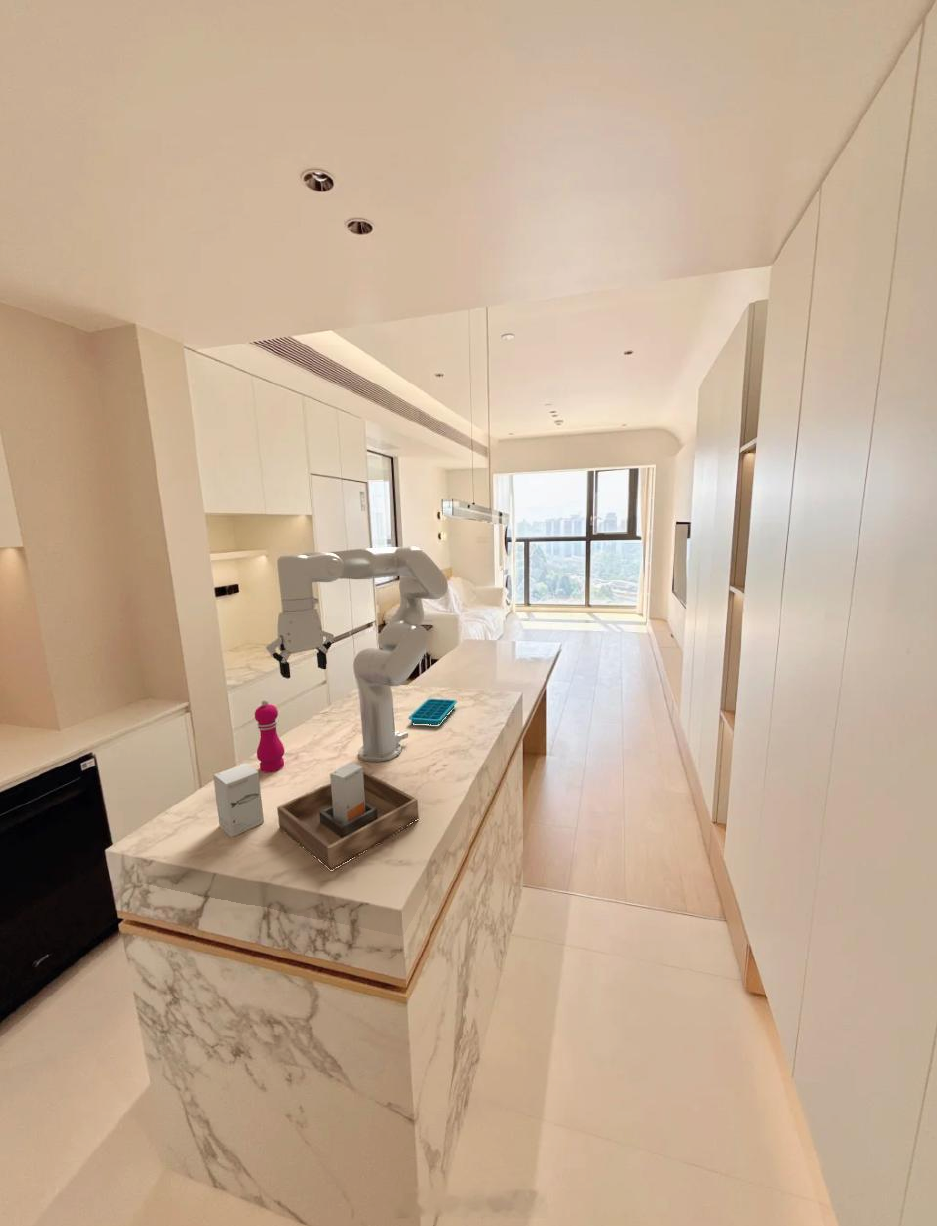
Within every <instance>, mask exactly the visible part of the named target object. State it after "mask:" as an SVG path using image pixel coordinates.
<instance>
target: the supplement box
mask: <svg viewBox="0 0 937 1226" xmlns="http://www.w3.org/2000/svg"><path fill="white" fill-rule="evenodd" d="M259 774H260V773H259V771H258V770H256V769H255V768H253V767H252V766H251V765H249V764H248V763H246V762H245V763H242V764H240V765H236V766H234V767H231V768H228V769H226V770H225V769H224V770H223V771H220V772H218V773H214V774H213V776H212V777H213V785H214V792H215V801H216V808H217V817H218V824H219V825H218V826H220V827H221V829H222V830H223V831H225V833H227V835H228V836H230V838H234V837H235V836H237V835H239V834H242V833H243V832H247V831H249V830H250V829H253V828H254V827H257V826H259V825H261V824H262V825H263V824H264V822H265V817H264V811H263V802H262V801H263V800H262V795H261V794H262V792H261V791H262V790H261V784H260V775H259ZM233 836H234V837H233Z"/></svg>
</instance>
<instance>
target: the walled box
mask: <svg viewBox="0 0 937 1226" xmlns="http://www.w3.org/2000/svg"><path fill="white" fill-rule="evenodd" d="M363 779H364V794H365V809H366V812H365V813H364V814H362V815H360V816H358V817H356V818H354V819H352V820H350V821H348V822H346V823H345V824H341V823H340V822H338V821H337V820H335V819H334V816H333V803H332V791H331V782H330V783H328V784H326V785H323V786H322V787H319V788H317V789H314V790H311V791H310V792H308V793H306V794H303V795H301V796H299V797H296V798H295V799H292V800H290V801H287V802H286V803H282V804H281V805H279V806H276V809H277V816H278V817H277V818H278V825H279V826H278V827H279V829H280V830H281V831H283V832H284V833H285V834H286V835H287V836H289V837H290V838H291V839H292V840H293V841H295V842H296V843H297V844H298V843H299V844H300V845H301V846H302V847H301V846H300V845H299V844H298V845H299V846H300V847H301V848H303V847H304V848H305V849H306V850H307V851H308V852H307V851H306V850H305V849H304V848H303V849H304V850H305V851H306V852H307V853H309V852H310V853H311V854H312V855H313V856H315V857H316V858H317V859H319V860H320V861H321V862H322V863H323V864H324V865H326V866H327V867H328V868H329V869H330V870H333V869H335V868H336V867H338V866H340V865H342V864H343V863H345V862H347V861H349V860H350V859H352V858H354V857H356V856H358V855H359V854H361V853H363V852H364V851H366V850H368V849H370V848H371V849H373V848H374V847H373V846H375V845H376V844H378V843H380V844H381V843H382V842H383V843H384V842H385V841H386V840H388V839H390V838H391V837H393V836H394V835H393V834H395V833H396V832H398V831H399V830H401V829H402V828H404V827H406V826H407V825H409V824H410V823H412V822H414V821H415V820H417V819H419V820H420V818H419V803H418V801H419V800H418V799H417V798H416V797H414V796H412V795H410V794H408V793H406V792H405V791H403V790H401V789H399V788H397V787H395V786H393V785H391V784H389V783H387V782H385V781H384V780H382V779H380V778H378V777H377V776H374V775H372V774H370V773H368V772H367V771H365V770H363ZM406 828H407V827H406ZM401 831H402V830H401ZM398 833H399V832H398ZM396 834H397V833H396ZM396 834H395V835H396ZM392 835H393V836H392ZM390 836H391V837H390ZM389 837H390V838H389ZM387 838H388V839H387ZM385 839H386V840H385ZM384 840H385V841H384ZM378 845H379V844H378ZM376 846H377V845H376ZM376 846H375V847H376ZM372 847H373V848H372ZM371 849H370V850H371ZM368 851H369V850H368ZM366 852H367V851H366ZM310 853H309V854H310ZM311 854H310V855H311ZM363 854H364V853H363ZM312 855H311V856H312ZM361 855H362V854H361ZM313 856H312V857H313ZM358 857H359V856H358ZM316 858H315V859H316ZM356 858H357V857H356ZM317 859H316V860H317ZM323 864H322V865H323ZM324 865H323V866H324ZM330 870H329V871H330Z"/></svg>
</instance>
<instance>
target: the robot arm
mask: <svg viewBox="0 0 937 1226" xmlns="http://www.w3.org/2000/svg"><path fill="white" fill-rule="evenodd" d="M276 561H277V562H276V563H277V573H278V583H279V585H278V586H279V593H280V599H281V600H280V602H281V612H278V618H277V639H275V640H273V641H272V642H271V643H270V644H268V645H266V650H267V652H268V653H269V654H270V656H271V658H273V659H275V660H276V661H277V662H278V663H279V665H278V666H279V673H280V675H281V676H282V678H285V679H287V680H288V679H291V669H290V668H291V666H290V662H289V661H288V660H289V658H290V656H292V655H291V654H297V653H302V652H306V651H312V650H317V651H318V652H316V660H317V661H316V662H317V668H318V669H321V670H327V663H328V660H327V654H328V652H329V649H330V648H331V646H332V642H333V640H334V638H335V637H334V636H335V635H334V634H333V633H330V632H328V631H324V630H323V629H322V622H321V620H320V619H321V618H320V615H319V611H318V610H317V608H315V607H316V604H319V599H318V598H315V597H314V591H313V583H332V582H334V581H337V580H339V579H344V580H345V579H346V580H347V579H349V580H371V579H377V578H379V579H380V578H388V577H397V576H399V577H400V579H399V583H398V589H399V595H400V602H399V603H400V604H399V607H398V609H397V610H396V612H395V613H394V615H393V616H392V617H391V618H390V619H389V621H388V622H387V623H386V625H385V626H383V628H382V630H381V631H380V633H379V636H378V639H377V644H378V645H379V647H380V648H381V649H380V648H372V647H371V648H365V649H362V650H360V651H358V653H357V654H356V655H355V657H354V659H353V663H352V665H353V666H352V668H353V675H354V678H355V681H356V684H357V690H358V698H359V699H358V700H359V709H360V710H359V711H360V723H361V724H360V725H361V734H362V746H361V747H360V748H359V749H358V755H357V756H358V758H359V759H361V760H363V761H364V762H369V763H381V762H386V761H389V760H392V759H394V758H396V757H398V756H399V755H400V754H401V752H402V745H401V744H400V742H401V741H402V740H404V739H407V738H409V732H408V731H404V732H401V733H400V732H399V731H396V728H395V727H396V726H395V714H394V713H395V712H394V698H393V690H392V688H391V687H399V686H401V685H403V684H404V683H405V682H406V681H407V679H408V678H409V677H410V676H411V674H412V673H413V672H414V670H415V669H416V667H417V666H418V664H419V663H420V661H421V660H422V659H423V657H424V655H425V654H426V653H427V651H428V647H429V645H430V643H429V642H430V636H429V632H428V631H427V629H426V628H425V627H424V626H422V623H423V622H424V619H425V611H424V605H423V600H439V599H441V598H444V596H446V594H447V592H448V587H449V583H448V579H447V577H446V574H444V573H443V571H442V569H440V567H438V565H437V564H436V563H435V562H434V561H433V559H432V558H431V557H430V556H429V555H428V554H427V553H426V552H425V551H423V550H422V549H421V548H419V547H416V546H391V547H390V546H389V547H369V548H366V547H365V548H356V549H348V550H347V549H346V550H339V551H324V552H323V551H320V552H319V551H318V552H304V553H301V554H289V555H282V556H279V557H278V558H277V560H276ZM422 599H423V600H422ZM324 638H325V641H324ZM277 648H278V650H279V651H280V653H278V652H277V650H276V649H277ZM399 753H400V754H399ZM397 755H398V756H397Z"/></svg>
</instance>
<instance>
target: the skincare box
mask: <svg viewBox="0 0 937 1226" xmlns="http://www.w3.org/2000/svg"><path fill="white" fill-rule="evenodd" d="M363 771H364V768H363V766H361V765H359V764H355V763H353V762H349V763H347V764H345V765H343V766H341V767H339V768H337V769H336V770H334V771H332V772H330V774H329V778H330V783H331V791H332V803H333V816H334V819H335V820H337V821H338V822H340V823H341V824H345V823H346V822H348V821H350V820H352V819H354V818H356V817H358V816H360V815H362V814H364V813H365V812H366V809H365V794H364V779H363Z"/></svg>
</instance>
